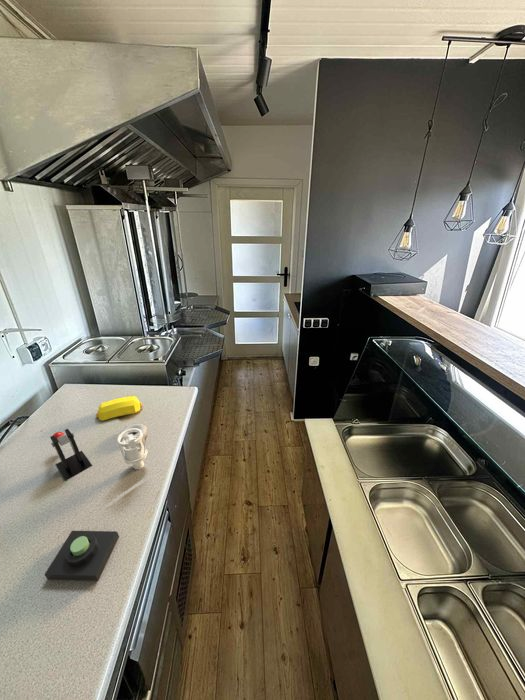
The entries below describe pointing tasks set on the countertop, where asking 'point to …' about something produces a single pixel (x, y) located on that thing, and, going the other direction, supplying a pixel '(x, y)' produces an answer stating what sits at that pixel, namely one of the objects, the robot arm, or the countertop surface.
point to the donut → (139, 426)
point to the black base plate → (83, 557)
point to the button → (79, 546)
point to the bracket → (70, 458)
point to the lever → (61, 438)
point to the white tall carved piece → (133, 448)
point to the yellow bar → (118, 407)
